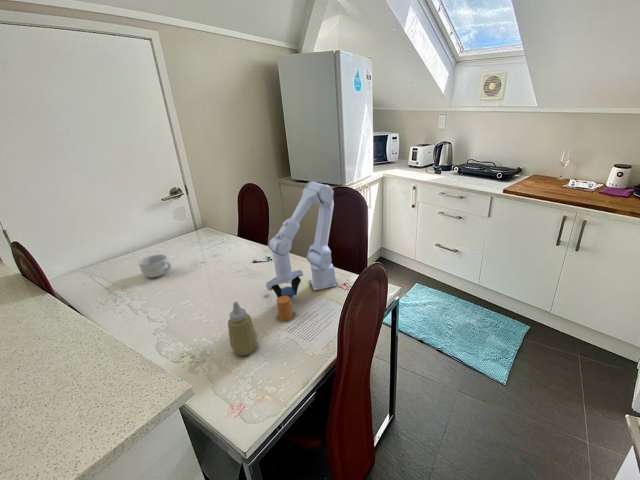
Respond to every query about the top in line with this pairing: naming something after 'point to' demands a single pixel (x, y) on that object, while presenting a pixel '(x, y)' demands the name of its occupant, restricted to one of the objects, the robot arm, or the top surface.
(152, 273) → the teacup
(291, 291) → the lid
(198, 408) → the top surface
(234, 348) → the squeeze bottle
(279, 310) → the jar
